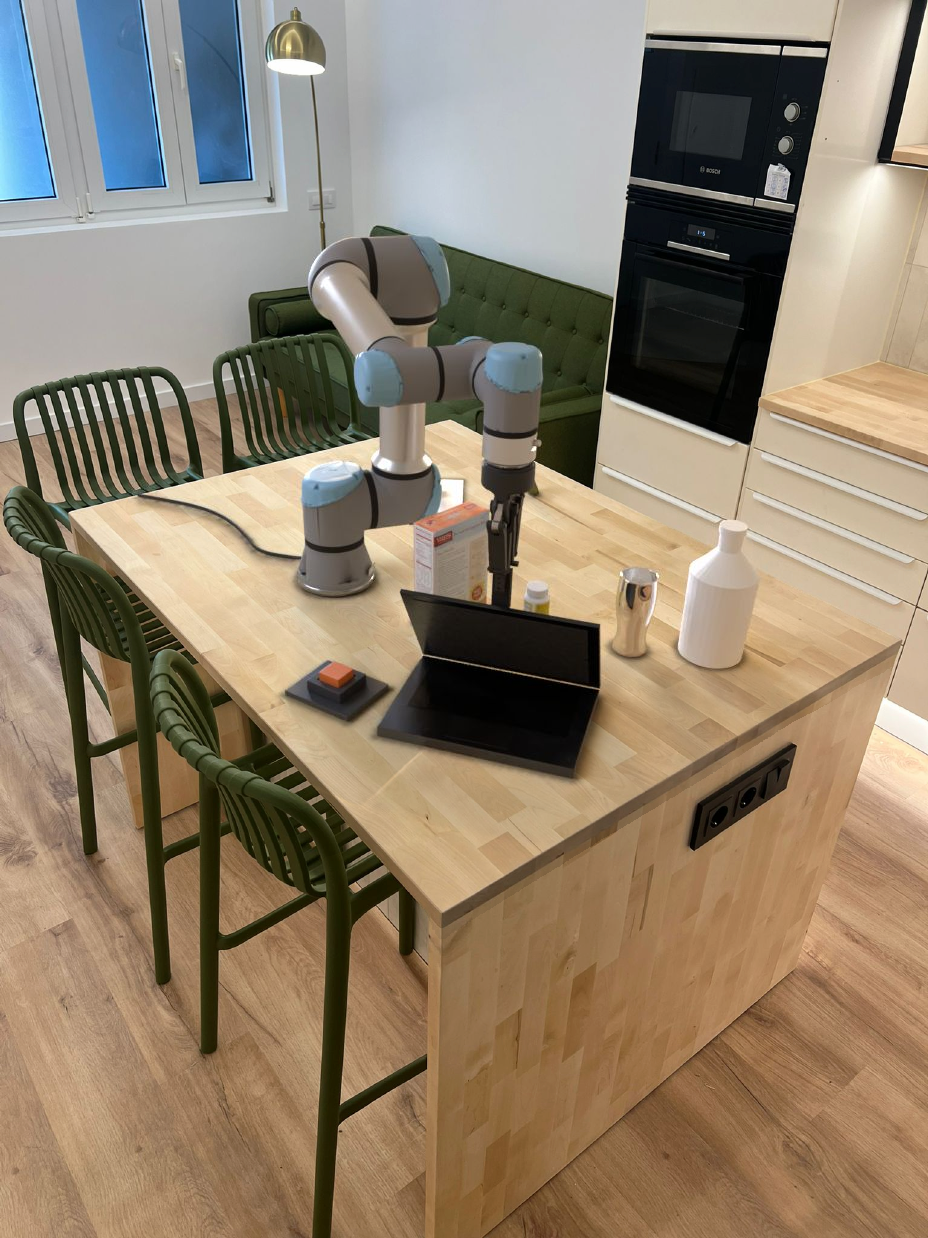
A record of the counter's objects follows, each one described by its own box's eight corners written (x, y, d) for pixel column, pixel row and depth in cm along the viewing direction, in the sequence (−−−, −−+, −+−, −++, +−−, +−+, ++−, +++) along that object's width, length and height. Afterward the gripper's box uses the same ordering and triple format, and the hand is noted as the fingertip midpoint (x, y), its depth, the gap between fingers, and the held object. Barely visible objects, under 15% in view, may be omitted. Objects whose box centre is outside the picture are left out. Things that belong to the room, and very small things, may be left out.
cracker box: (465, 597, 184) (468, 499, 173) (487, 609, 180) (492, 509, 169) (411, 622, 175) (412, 520, 164) (433, 635, 172) (435, 531, 161)
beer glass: (606, 638, 172) (615, 565, 165) (643, 637, 173) (654, 565, 165) (614, 659, 166) (624, 585, 159) (652, 658, 167) (664, 584, 159)
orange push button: (285, 695, 154) (283, 680, 153) (327, 664, 162) (327, 650, 161) (347, 722, 148) (347, 707, 147) (388, 689, 157) (388, 674, 155)
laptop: (573, 779, 138) (574, 769, 137) (376, 736, 146) (376, 726, 145) (598, 698, 156) (599, 689, 155) (422, 663, 163) (422, 654, 162)
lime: (531, 488, 231) (532, 469, 229) (545, 494, 228) (546, 475, 226) (518, 493, 229) (519, 473, 226) (532, 499, 226) (534, 480, 223)
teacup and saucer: (444, 498, 224) (445, 483, 222) (411, 497, 224) (411, 481, 222) (445, 484, 232) (446, 469, 230) (413, 483, 232) (413, 468, 230)
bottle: (756, 664, 166) (784, 537, 153) (696, 673, 163) (720, 544, 150) (722, 630, 176) (746, 507, 163) (664, 638, 173) (685, 514, 160)
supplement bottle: (550, 621, 177) (553, 582, 173) (543, 634, 173) (547, 594, 169) (525, 616, 178) (528, 577, 174) (518, 629, 174) (521, 589, 170)
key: (319, 681, 153) (318, 672, 153) (334, 669, 156) (334, 661, 156) (338, 689, 152) (338, 680, 151) (353, 677, 155) (353, 668, 154)
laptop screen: (599, 628, 136) (600, 624, 137) (399, 592, 144) (400, 588, 144) (599, 689, 155) (600, 685, 155) (422, 655, 162) (424, 651, 163)
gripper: (524, 480, 124) (514, 632, 136) (545, 447, 135) (534, 591, 147) (469, 472, 126) (464, 623, 138) (495, 440, 136) (488, 583, 148)
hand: (500, 606), depth 142 cm, fingers closed
